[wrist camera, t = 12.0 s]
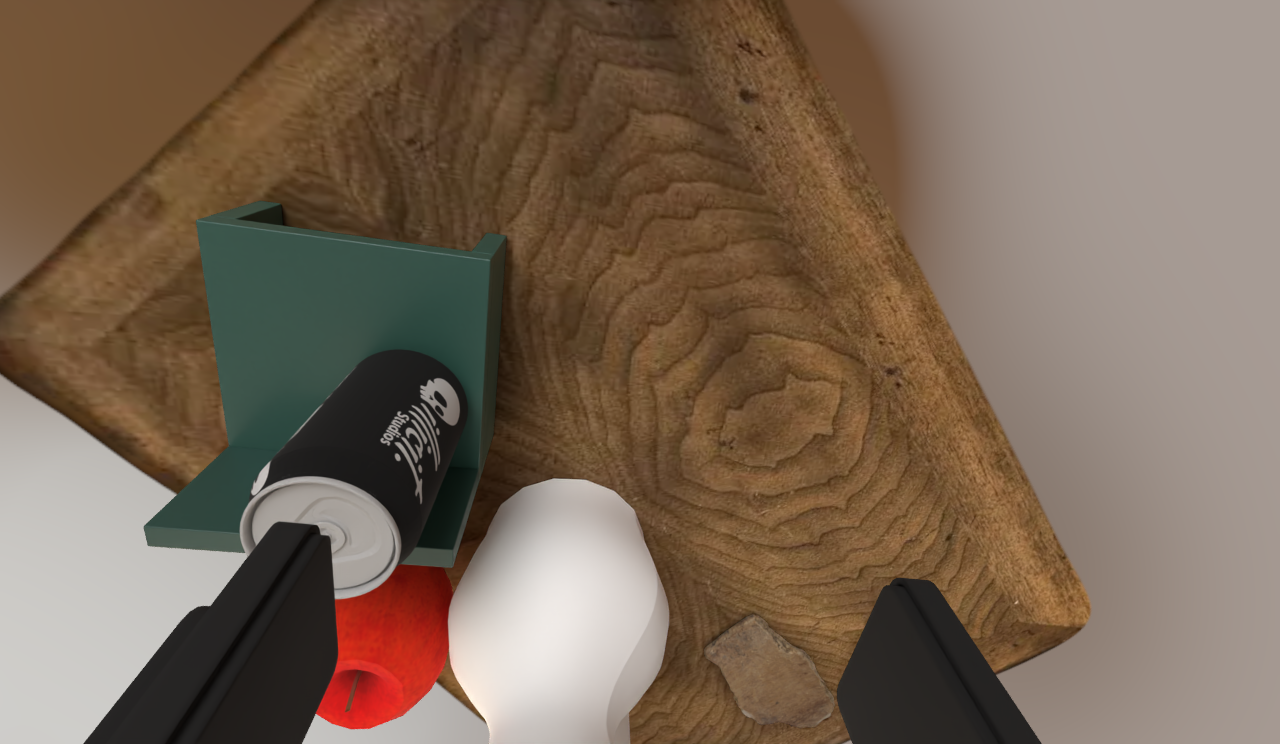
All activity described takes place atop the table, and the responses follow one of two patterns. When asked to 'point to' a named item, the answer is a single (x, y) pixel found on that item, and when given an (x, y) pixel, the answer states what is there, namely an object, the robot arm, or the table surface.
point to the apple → (389, 647)
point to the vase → (558, 616)
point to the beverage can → (365, 466)
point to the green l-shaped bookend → (332, 355)
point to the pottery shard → (770, 675)
